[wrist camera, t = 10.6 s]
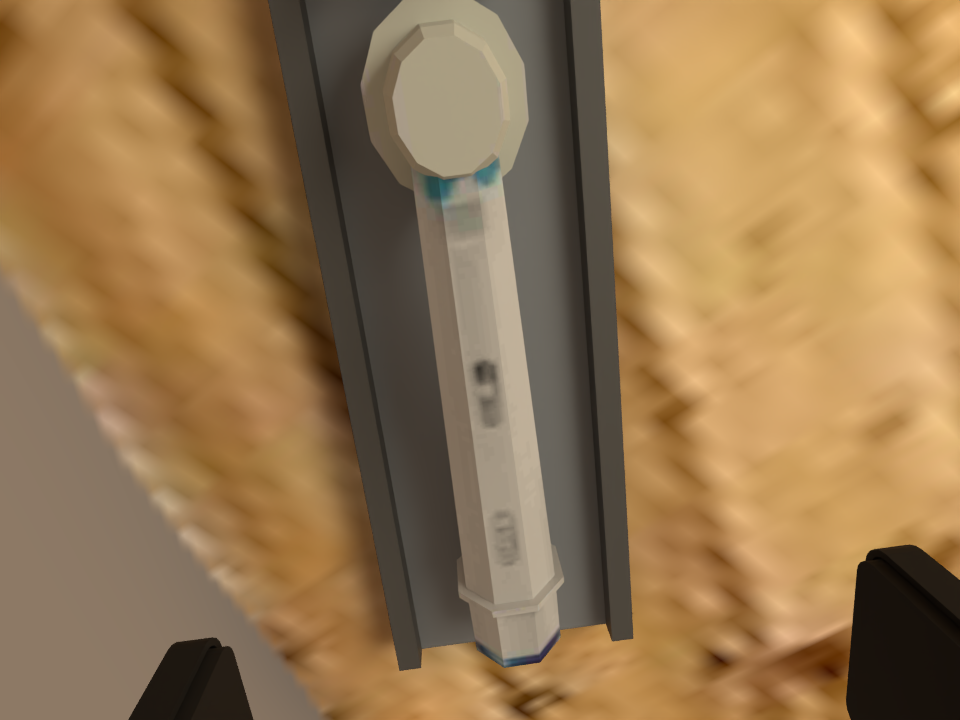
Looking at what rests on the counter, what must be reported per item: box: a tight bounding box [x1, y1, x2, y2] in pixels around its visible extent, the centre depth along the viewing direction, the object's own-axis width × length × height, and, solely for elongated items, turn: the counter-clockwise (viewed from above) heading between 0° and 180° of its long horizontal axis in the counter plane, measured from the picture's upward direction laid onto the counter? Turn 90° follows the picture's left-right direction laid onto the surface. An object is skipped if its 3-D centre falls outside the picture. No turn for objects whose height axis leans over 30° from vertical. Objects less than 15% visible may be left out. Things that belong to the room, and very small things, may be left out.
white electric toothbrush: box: [360, 0, 564, 668], centre depth 23 cm, size 5×7×25 cm
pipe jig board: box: [268, 0, 633, 671], centre depth 22 cm, size 36×11×7 cm, turn 7°
